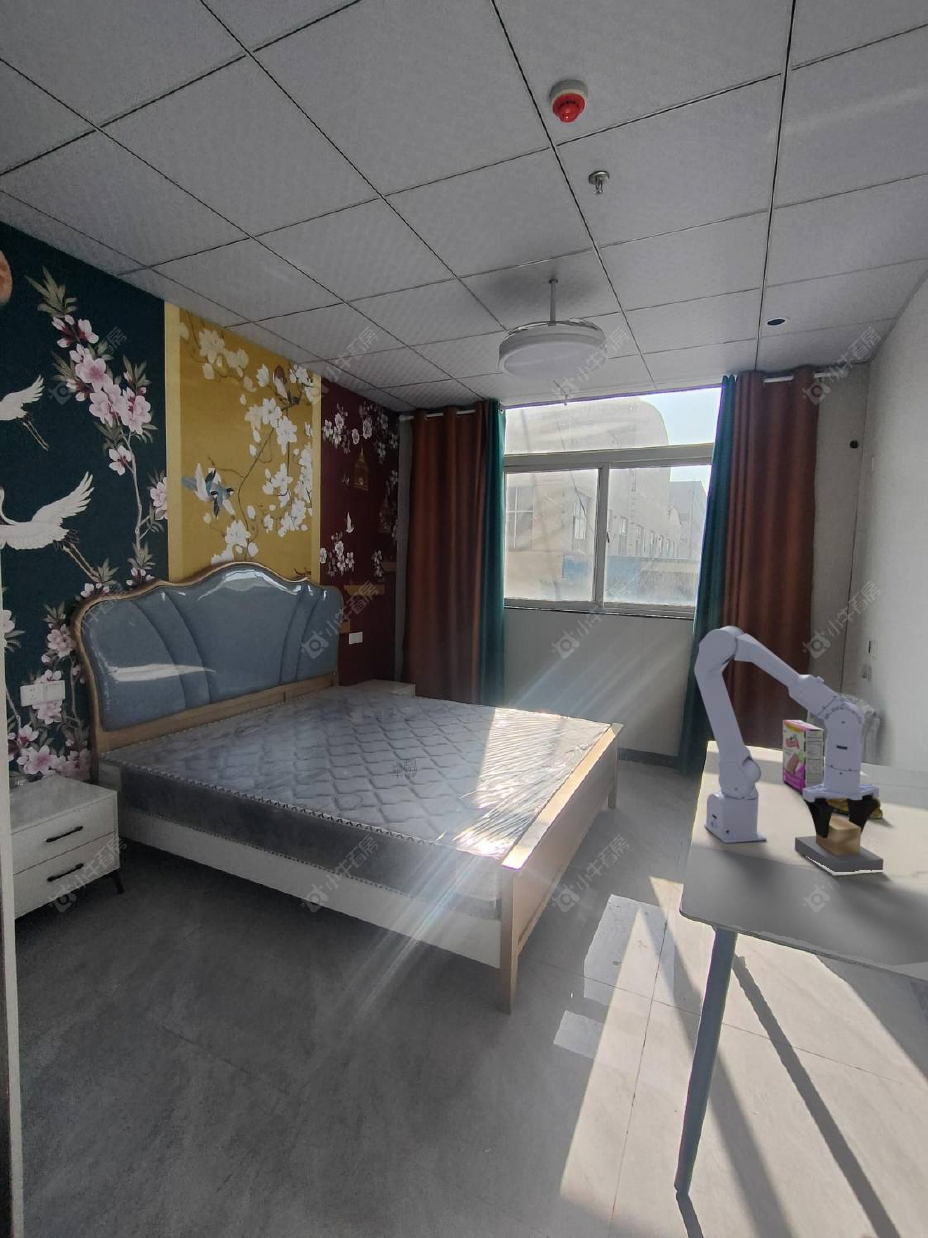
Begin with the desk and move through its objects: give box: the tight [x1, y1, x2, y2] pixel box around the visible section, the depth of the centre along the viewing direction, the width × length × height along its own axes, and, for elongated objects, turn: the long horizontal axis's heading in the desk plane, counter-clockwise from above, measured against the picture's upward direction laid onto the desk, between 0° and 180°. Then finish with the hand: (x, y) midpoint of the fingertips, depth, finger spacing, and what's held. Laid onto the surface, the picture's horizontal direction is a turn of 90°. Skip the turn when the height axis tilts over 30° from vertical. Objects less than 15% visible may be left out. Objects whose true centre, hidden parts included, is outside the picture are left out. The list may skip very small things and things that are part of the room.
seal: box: [826, 797, 884, 820], centre depth 130 cm, size 9×5×15 cm
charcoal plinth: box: [794, 835, 884, 872], centre depth 107 cm, size 10×10×2 cm
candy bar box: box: [782, 719, 825, 794], centre depth 141 cm, size 11×5×16 cm, turn 176°
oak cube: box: [815, 815, 862, 855], centre depth 107 cm, size 5×5×5 cm
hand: (838, 834), depth 107 cm, fingers open, 7 cm apart
